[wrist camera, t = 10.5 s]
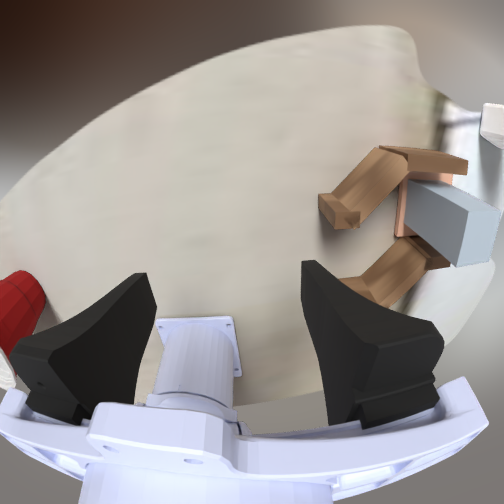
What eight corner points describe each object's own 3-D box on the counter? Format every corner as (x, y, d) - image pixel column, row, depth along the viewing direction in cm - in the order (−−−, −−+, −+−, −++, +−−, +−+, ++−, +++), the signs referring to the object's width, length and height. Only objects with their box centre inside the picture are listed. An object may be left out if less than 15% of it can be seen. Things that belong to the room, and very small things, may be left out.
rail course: (417, 278, 25) (438, 303, 21) (315, 291, 25) (326, 323, 21) (436, 150, 19) (468, 160, 15) (317, 144, 19) (336, 150, 15)
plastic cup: (54, 259, 23) (-13, 332, 12) (69, 332, 28) (29, 405, 17) (-6, 241, 22) (-67, 294, 11) (12, 309, 26) (-30, 366, 16)
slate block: (435, 221, 22) (488, 261, 15) (403, 222, 22) (455, 267, 15) (441, 180, 20) (501, 211, 13) (408, 179, 20) (468, 211, 13)
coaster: (440, 230, 23) (444, 233, 22) (394, 234, 23) (397, 236, 22) (449, 166, 20) (453, 168, 19) (400, 163, 20) (404, 164, 19)
